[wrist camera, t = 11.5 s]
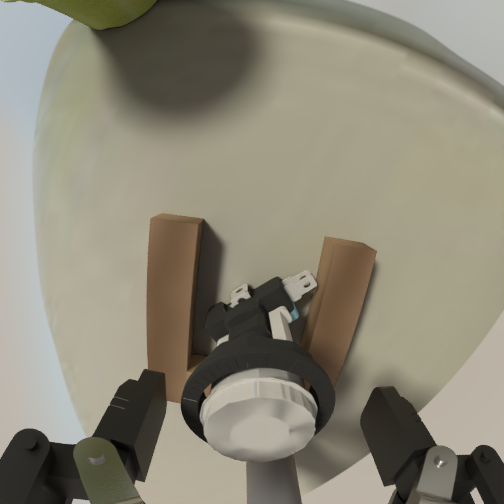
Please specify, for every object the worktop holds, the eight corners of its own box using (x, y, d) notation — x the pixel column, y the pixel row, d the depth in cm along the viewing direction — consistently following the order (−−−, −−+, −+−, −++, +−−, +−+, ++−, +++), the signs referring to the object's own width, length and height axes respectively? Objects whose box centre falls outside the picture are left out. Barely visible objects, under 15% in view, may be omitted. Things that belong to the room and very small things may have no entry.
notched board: (363, 242, 17) (376, 251, 15) (317, 396, 20) (322, 414, 18) (161, 213, 16) (150, 218, 14) (156, 379, 19) (150, 397, 17)
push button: (287, 234, 16) (345, 313, 7) (328, 306, 18) (395, 419, 8) (190, 291, 17) (141, 410, 7) (238, 354, 18) (235, 484, 9)
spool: (304, 414, 20) (339, 571, 6) (289, 448, 21) (310, 582, 8) (241, 410, 20) (242, 580, 6) (234, 446, 21) (232, 586, 7)
